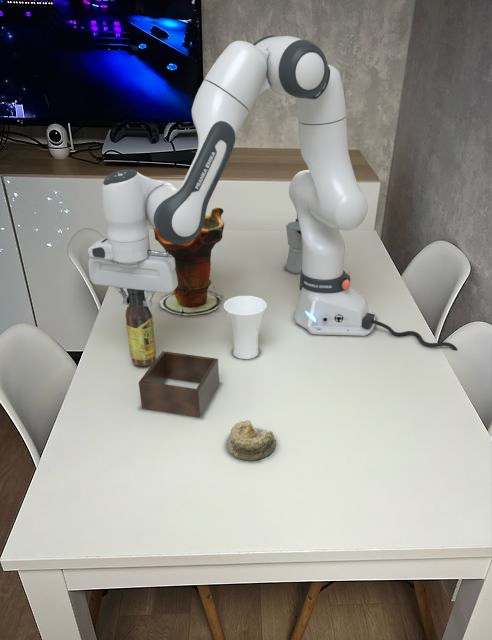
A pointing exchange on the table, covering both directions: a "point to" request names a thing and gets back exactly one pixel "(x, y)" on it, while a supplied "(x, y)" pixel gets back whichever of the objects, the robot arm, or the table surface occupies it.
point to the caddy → (175, 396)
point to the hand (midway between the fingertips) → (137, 304)
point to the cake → (250, 442)
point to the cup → (245, 324)
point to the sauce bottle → (140, 329)
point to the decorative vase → (194, 269)
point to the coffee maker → (294, 247)
